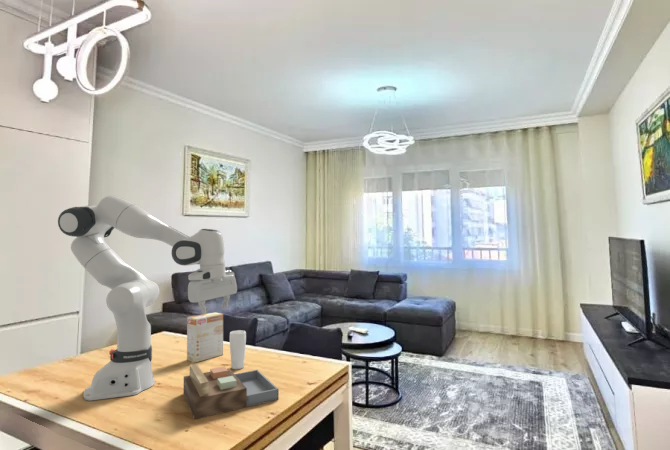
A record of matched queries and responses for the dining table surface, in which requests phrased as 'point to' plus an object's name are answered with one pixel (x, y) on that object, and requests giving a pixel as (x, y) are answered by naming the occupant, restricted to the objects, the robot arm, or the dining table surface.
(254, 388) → the box
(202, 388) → the bar
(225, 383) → the sage tile
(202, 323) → the coffeecake box
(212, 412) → the walnut platform
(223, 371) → the terracotta tile
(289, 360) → the dining table surface
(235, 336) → the drinking glass
